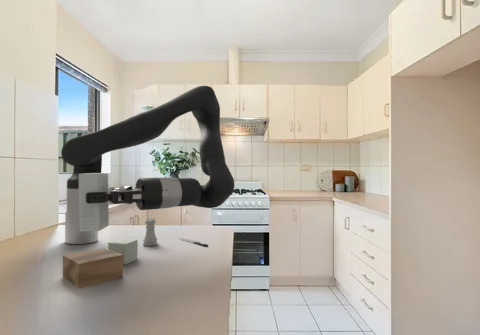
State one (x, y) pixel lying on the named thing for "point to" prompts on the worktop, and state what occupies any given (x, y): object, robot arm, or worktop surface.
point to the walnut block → (92, 267)
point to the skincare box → (93, 213)
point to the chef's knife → (194, 242)
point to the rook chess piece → (150, 233)
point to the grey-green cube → (125, 249)
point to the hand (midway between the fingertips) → (83, 196)
